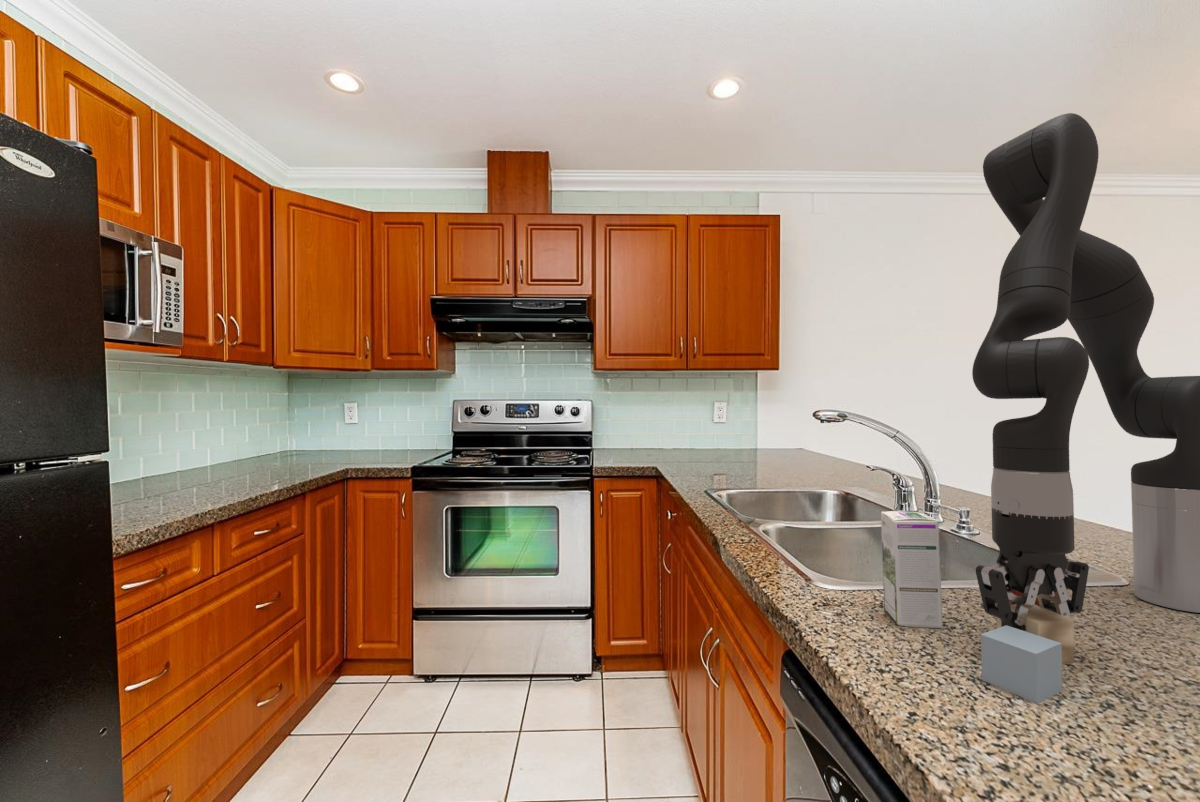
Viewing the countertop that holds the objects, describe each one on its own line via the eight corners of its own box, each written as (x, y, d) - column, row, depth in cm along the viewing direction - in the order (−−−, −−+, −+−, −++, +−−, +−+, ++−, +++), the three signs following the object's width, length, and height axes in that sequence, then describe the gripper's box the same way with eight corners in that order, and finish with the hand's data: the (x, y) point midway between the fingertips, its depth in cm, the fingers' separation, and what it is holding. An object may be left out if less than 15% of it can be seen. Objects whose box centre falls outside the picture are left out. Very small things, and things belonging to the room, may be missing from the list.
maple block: (1030, 643, 64) (1029, 602, 64) (1074, 662, 59) (1073, 618, 59) (997, 647, 63) (996, 606, 63) (1038, 667, 58) (1037, 623, 59)
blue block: (1007, 669, 58) (1006, 625, 58) (1062, 691, 54) (1061, 643, 54) (981, 680, 56) (980, 634, 56) (1037, 704, 52) (1036, 653, 52)
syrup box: (944, 629, 69) (942, 519, 69) (895, 626, 70) (893, 518, 70) (926, 612, 74) (924, 510, 74) (881, 609, 75) (879, 509, 76)
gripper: (1047, 498, 67) (1050, 631, 66) (952, 504, 64) (955, 643, 64) (1115, 510, 59) (1118, 659, 59) (1011, 517, 57) (1015, 674, 56)
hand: (1034, 650), depth 61 cm, fingers closed on maple block, 5 cm apart
